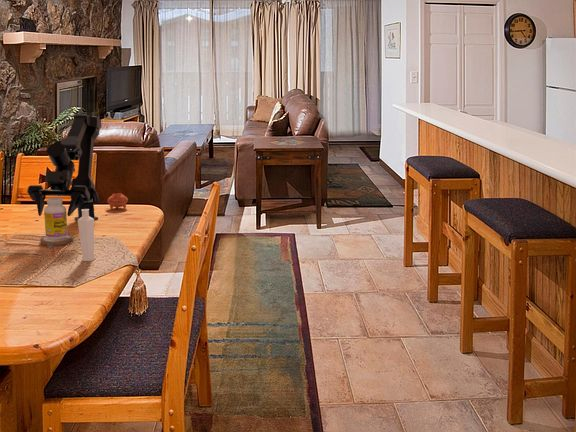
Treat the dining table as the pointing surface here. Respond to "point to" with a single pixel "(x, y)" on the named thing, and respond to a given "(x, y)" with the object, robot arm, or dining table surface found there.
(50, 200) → the supplement bottle
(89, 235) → the perfume bottle
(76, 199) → the robot arm
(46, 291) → the dining table surface
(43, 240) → the post base
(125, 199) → the pot
